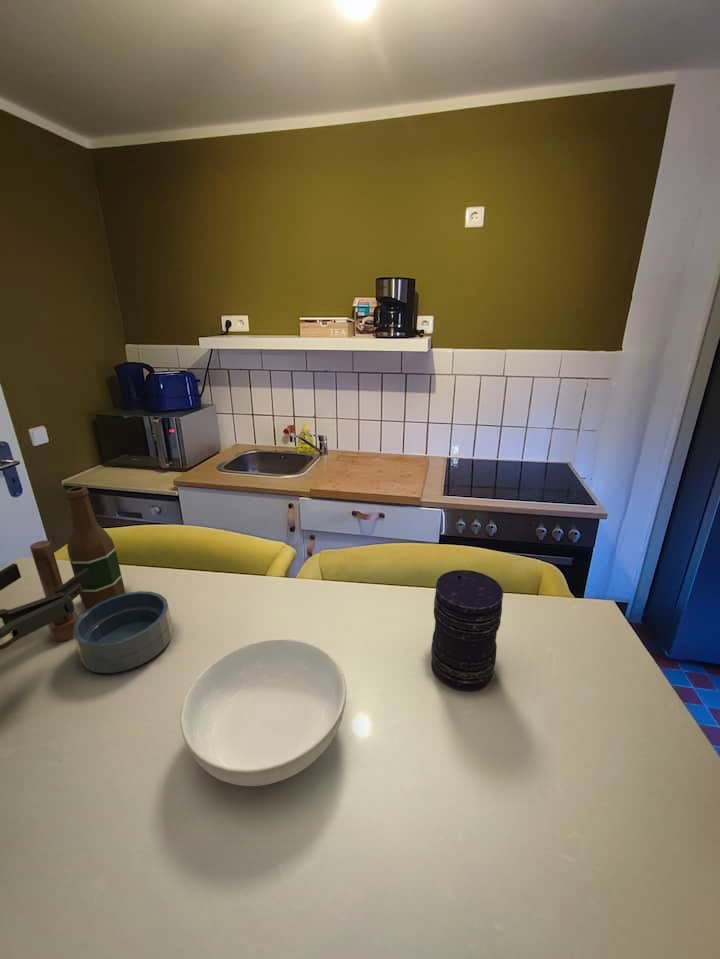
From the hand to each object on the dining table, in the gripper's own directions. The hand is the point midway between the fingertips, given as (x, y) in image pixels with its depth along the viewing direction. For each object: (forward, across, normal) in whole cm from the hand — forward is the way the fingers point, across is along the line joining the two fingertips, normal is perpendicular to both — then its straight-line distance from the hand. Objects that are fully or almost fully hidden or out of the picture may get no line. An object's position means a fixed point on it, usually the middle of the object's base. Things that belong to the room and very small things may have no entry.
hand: (52, 572), depth 73 cm
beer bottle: (+9, 0, -12) cm, 15 cm away
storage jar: (-1, +69, -12) cm, 70 cm away
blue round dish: (-2, +13, -12) cm, 18 cm away
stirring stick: (-1, 0, -12) cm, 12 cm away
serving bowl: (-16, +43, -12) cm, 47 cm away
